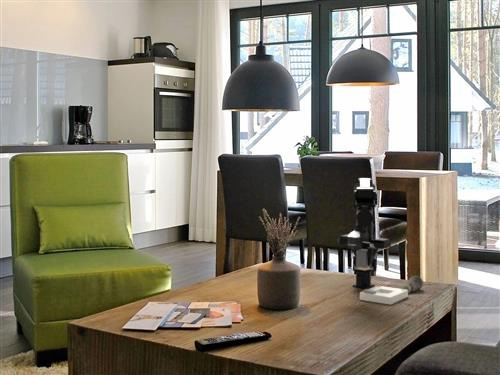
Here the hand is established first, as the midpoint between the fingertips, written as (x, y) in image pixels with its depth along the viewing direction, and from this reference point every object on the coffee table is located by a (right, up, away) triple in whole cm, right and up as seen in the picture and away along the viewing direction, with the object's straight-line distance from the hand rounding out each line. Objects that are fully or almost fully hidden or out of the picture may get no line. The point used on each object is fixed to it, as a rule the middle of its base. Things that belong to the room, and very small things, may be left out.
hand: (364, 265), depth 253 cm
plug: (0, -2, 0) cm, 2 cm away
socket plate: (+7, -12, -2) cm, 14 cm away
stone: (+20, -11, +10) cm, 25 cm away
